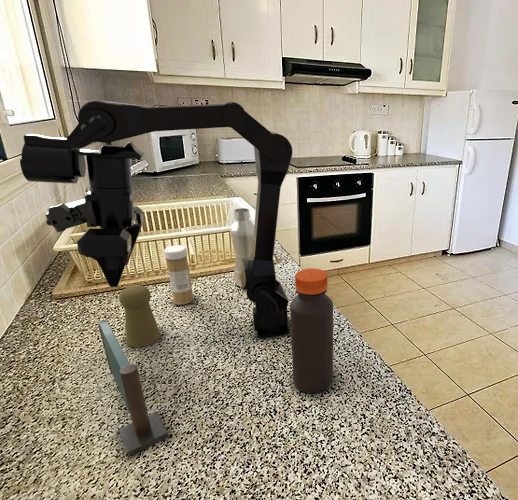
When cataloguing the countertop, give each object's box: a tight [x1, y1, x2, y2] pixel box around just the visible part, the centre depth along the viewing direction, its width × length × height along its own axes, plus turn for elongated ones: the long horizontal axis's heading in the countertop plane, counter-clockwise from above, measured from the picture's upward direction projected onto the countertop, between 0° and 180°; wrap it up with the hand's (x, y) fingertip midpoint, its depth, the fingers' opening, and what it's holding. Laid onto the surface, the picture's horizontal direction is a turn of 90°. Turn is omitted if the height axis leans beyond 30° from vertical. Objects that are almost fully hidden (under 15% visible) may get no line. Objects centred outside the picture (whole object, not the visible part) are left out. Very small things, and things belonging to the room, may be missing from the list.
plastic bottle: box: [229, 207, 255, 288], centre depth 93 cm, size 6×7×20 cm
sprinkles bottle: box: [163, 244, 195, 306], centre depth 86 cm, size 5×5×14 cm
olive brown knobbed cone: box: [118, 284, 161, 348], centre depth 72 cm, size 6×6×11 cm
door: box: [97, 319, 131, 411], centre depth 57 cm, size 1×16×10 cm, turn 42°
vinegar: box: [289, 267, 334, 394], centre depth 60 cm, size 7×7×20 cm
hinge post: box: [118, 363, 169, 457], centre depth 51 cm, size 5×5×12 cm
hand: (119, 275), depth 64 cm, fingers open, 9 cm apart
